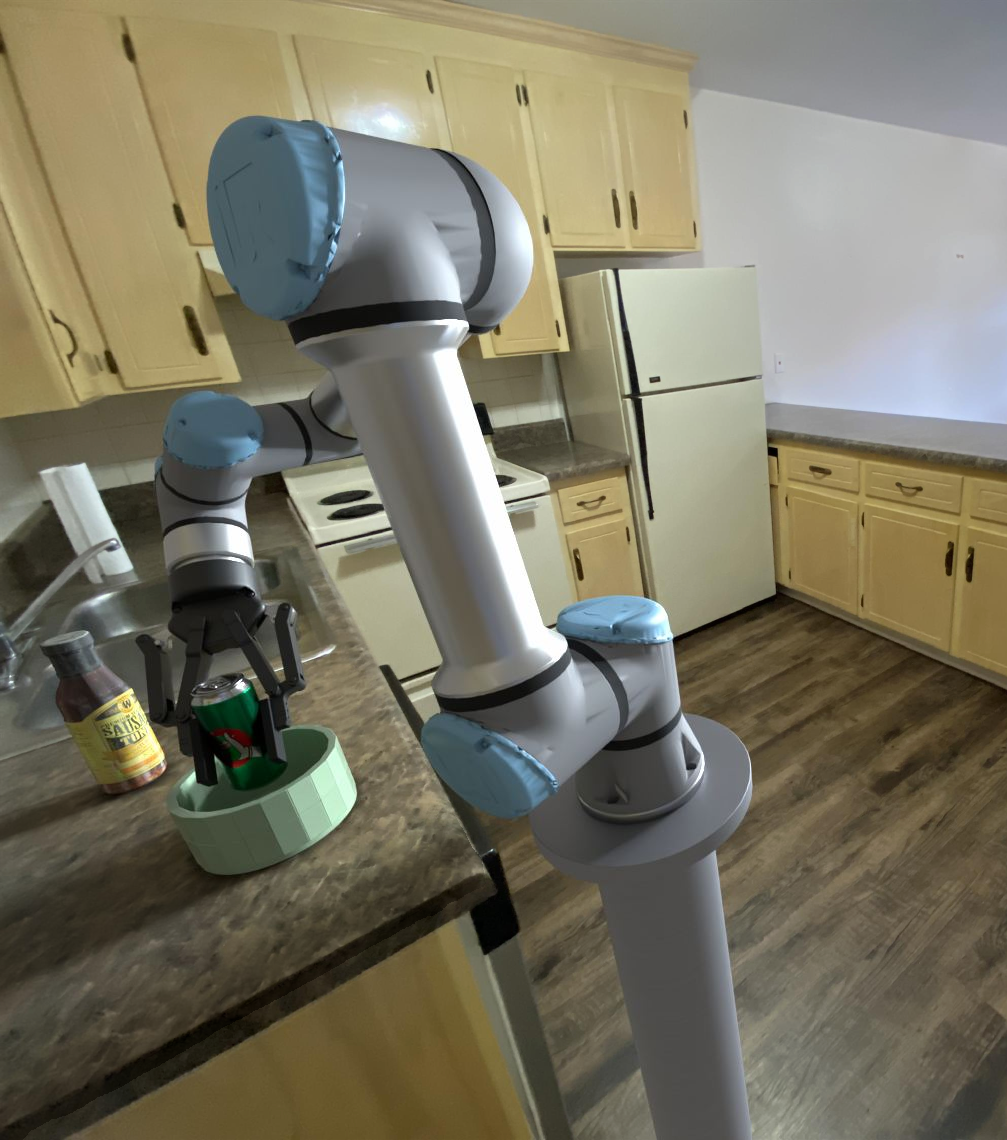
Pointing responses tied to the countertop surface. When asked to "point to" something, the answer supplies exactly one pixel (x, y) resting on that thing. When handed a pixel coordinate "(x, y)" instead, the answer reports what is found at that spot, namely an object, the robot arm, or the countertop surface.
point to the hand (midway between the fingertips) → (243, 771)
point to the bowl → (266, 807)
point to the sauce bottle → (103, 716)
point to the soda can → (235, 730)
